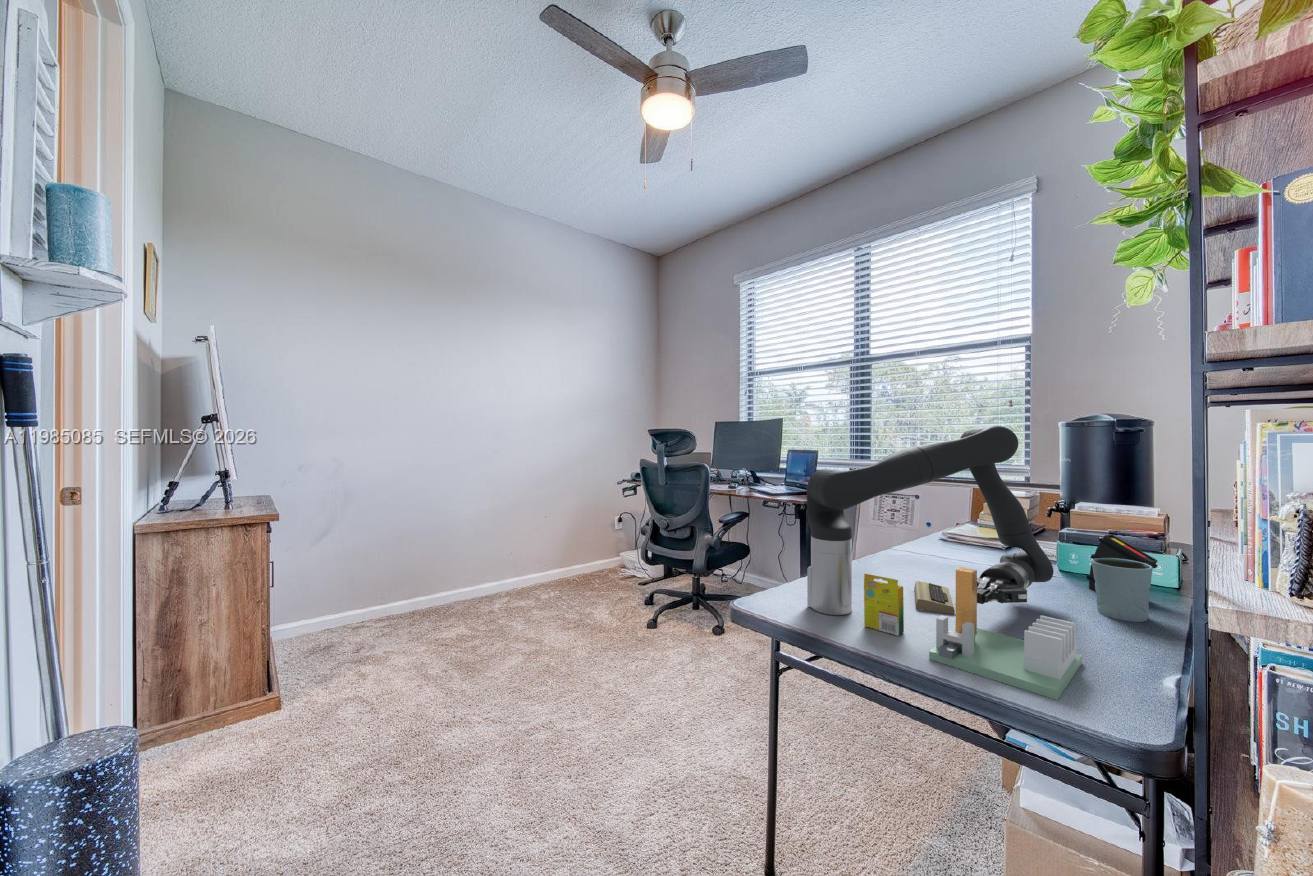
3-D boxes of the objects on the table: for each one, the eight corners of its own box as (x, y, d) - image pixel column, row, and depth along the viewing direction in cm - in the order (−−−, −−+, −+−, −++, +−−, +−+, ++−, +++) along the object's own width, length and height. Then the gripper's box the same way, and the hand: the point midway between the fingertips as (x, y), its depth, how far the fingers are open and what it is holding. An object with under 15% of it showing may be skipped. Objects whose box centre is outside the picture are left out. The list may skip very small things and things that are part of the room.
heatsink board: (929, 659, 94) (929, 616, 93) (965, 632, 106) (965, 594, 106) (1057, 700, 79) (1057, 649, 79) (1081, 663, 92) (1082, 619, 91)
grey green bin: (1165, 623, 110) (1165, 568, 110) (1119, 623, 110) (1120, 569, 110) (1121, 607, 120) (1122, 557, 120) (1080, 607, 120) (1080, 557, 120)
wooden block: (937, 654, 92) (937, 579, 92) (960, 636, 100) (961, 567, 100) (954, 659, 90) (954, 582, 90) (976, 641, 98) (977, 570, 97)
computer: (954, 616, 116) (955, 602, 116) (915, 611, 120) (915, 597, 120) (949, 596, 130) (949, 583, 130) (914, 591, 134) (914, 579, 134)
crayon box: (904, 632, 106) (904, 577, 106) (898, 636, 104) (898, 580, 104) (869, 623, 111) (869, 570, 111) (863, 626, 109) (863, 573, 109)
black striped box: (1083, 578, 138) (1111, 533, 132) (1135, 613, 127) (1169, 566, 121) (1073, 579, 137) (1101, 534, 131) (1126, 615, 126) (1159, 567, 120)
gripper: (971, 559, 118) (942, 573, 107) (1040, 570, 108) (1017, 587, 97) (971, 590, 118) (942, 608, 107) (1040, 605, 108) (1017, 626, 97)
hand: (978, 598), depth 102 cm, fingers closed
